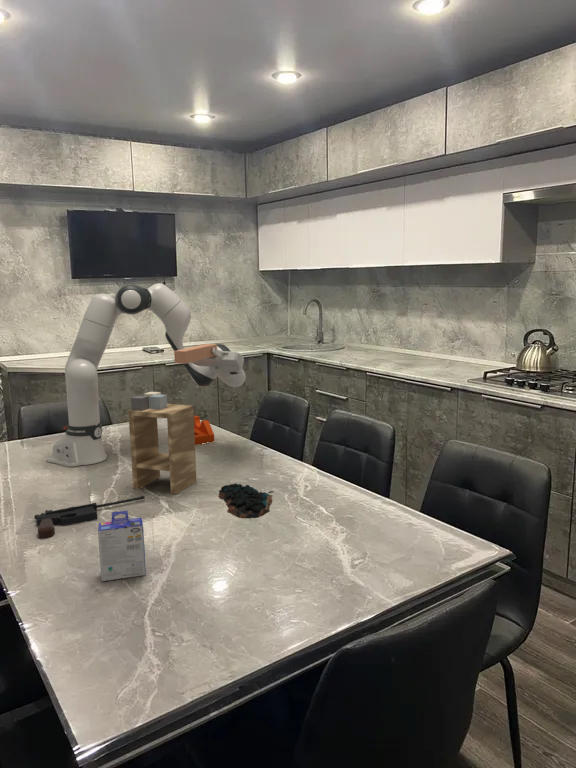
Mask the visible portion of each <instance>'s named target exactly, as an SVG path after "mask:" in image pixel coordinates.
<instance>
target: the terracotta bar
mask: <svg viewBox="0 0 576 768" xmlns="http://www.w3.org/2000/svg"><path fill="white" fill-rule="evenodd" d="M217 344H218V343H216V344H215V343H204V344H200V345H195V346H191V347H186V348H185V349H181V350H177V351H174V350H173V352H174V353H173V354H174V357H173V358H174V364H182V365H184V364H186V363H190V362H194V361H198V360H201V359H205V358H209V357H213V356H216V355H214V354H211V353H210V351H211V348H215V349H216V350H217Z"/></svg>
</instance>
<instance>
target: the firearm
mask: <svg viewBox="0 0 576 768" xmlns="http://www.w3.org/2000/svg"><path fill="white" fill-rule="evenodd" d="M145 499H146V496H145V495H140V496H139V497H133V498H128V499H122V500H117V501H113V502H111V501H110V502H107V503H101V504H97V502H91V503H89V504H88V503H87V504H82V505H77V506H70V507H67V508H60V509H57V510H53V509H50V510H48V509H45V512H41V513H40V514H35V515H34V520H36V526H37V532H38V533H37V534H38V537H39V538H40V539H50V538H53V537H54V535H55V534H56V533H55V532H56V531H55V525H60V526H69V525H74V524H81V522H82V523H87V522H90V521H91V522H92V521H96V520H98V511H97V510H98V508H104V507H109V506H115V505H120V504H125V503H130V502H134V501H141V500H145ZM86 521H87V522H86Z"/></svg>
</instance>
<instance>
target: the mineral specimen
mask: <svg viewBox="0 0 576 768" xmlns="http://www.w3.org/2000/svg"><path fill="white" fill-rule="evenodd" d="M272 493H275V491H274V490H270V491H268V492H266V491H264V492H262V491H260V492H259V491H258V490H257V489H256V488H254V487H252V486H250V485H249V484H246V485H243V484H241V483H237V482H235V483H230V484H224V485H223V486H221V487H220V489H219V491H218V498H219V500H223V502H225V505H226V506H227V511H226V512H227V513H228V514H231V515H232V516H234V517H236V518H238V519H258V518H260V517H263V516H265V515H266V514H268V513H270V509H271V508H270V507H271V505H272V504H273V496H274V495H272Z"/></svg>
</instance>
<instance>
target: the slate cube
mask: <svg viewBox="0 0 576 768" xmlns="http://www.w3.org/2000/svg"><path fill="white" fill-rule="evenodd" d="M149 401H150V409H160V410H161V409H163V408H166V407H167V404H168V395H167V394H161V395H160V394H156V395H152V396H149Z"/></svg>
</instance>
